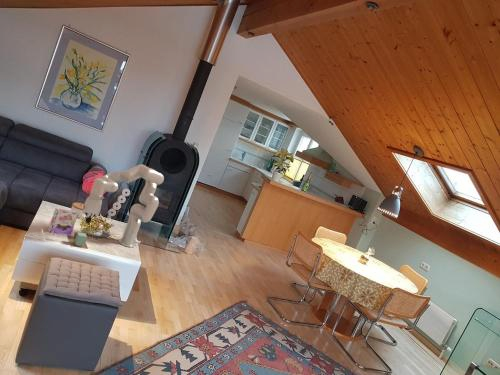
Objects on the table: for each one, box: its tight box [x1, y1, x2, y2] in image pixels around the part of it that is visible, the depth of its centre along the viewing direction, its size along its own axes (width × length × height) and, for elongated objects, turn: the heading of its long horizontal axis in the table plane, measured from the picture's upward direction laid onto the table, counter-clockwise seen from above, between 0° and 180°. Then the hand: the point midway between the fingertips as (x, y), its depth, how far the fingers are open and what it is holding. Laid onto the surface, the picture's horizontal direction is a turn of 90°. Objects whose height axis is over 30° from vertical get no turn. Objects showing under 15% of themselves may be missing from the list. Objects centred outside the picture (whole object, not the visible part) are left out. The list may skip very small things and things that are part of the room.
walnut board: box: [66, 231, 89, 249], centre depth 260 cm, size 11×18×5 cm, turn 35°
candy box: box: [47, 207, 78, 236], centre depth 263 cm, size 14×6×16 cm, turn 131°
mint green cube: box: [74, 231, 88, 246], centre depth 256 cm, size 5×5×7 cm
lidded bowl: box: [70, 202, 86, 219], centre depth 305 cm, size 13×13×11 cm
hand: (87, 222), depth 255 cm, fingers closed
